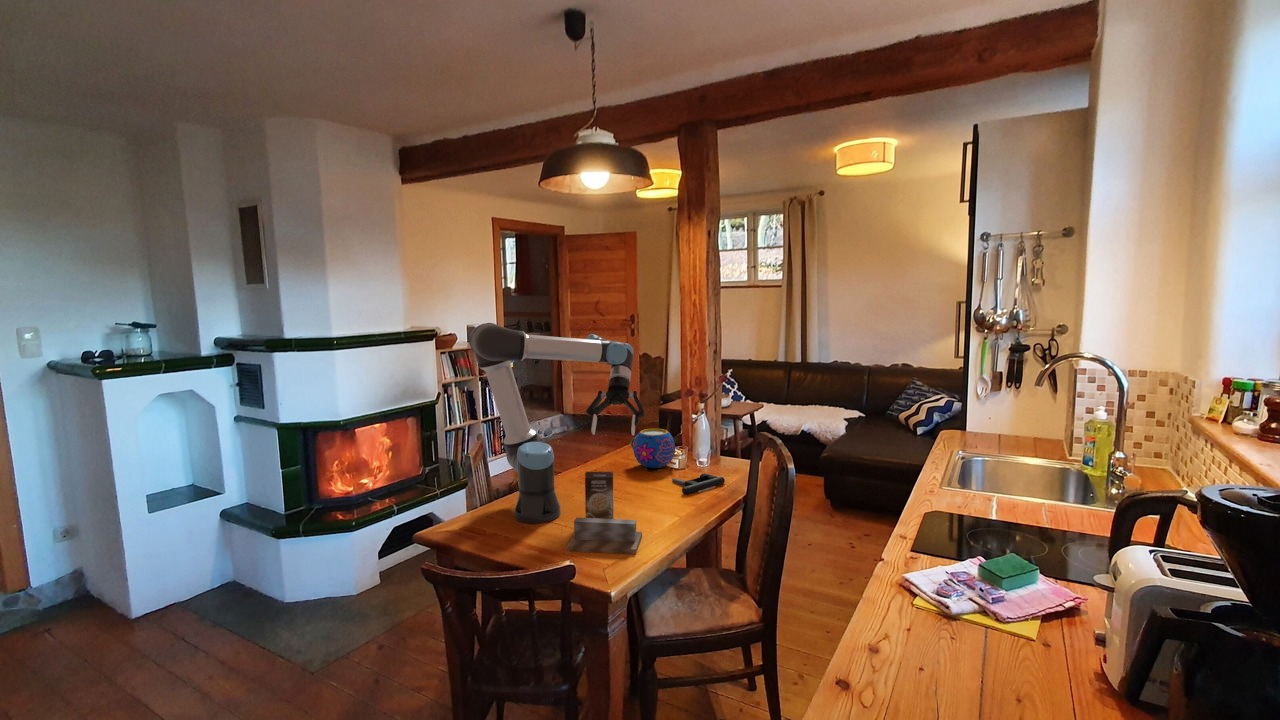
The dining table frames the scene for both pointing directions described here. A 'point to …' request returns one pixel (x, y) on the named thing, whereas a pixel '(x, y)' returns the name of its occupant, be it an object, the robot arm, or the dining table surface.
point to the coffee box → (599, 495)
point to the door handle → (699, 483)
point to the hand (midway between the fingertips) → (612, 433)
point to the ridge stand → (605, 536)
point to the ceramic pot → (653, 447)
